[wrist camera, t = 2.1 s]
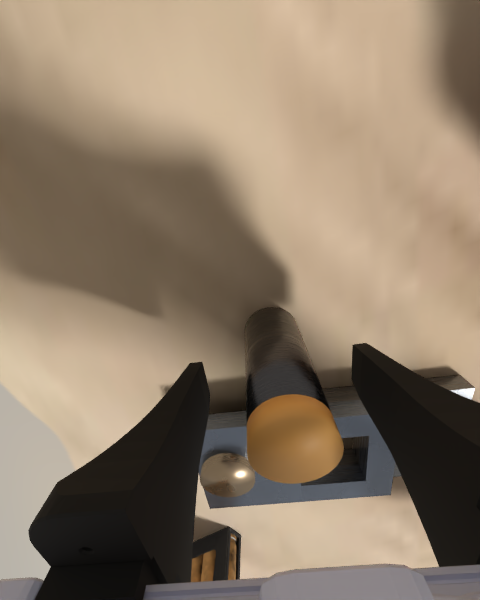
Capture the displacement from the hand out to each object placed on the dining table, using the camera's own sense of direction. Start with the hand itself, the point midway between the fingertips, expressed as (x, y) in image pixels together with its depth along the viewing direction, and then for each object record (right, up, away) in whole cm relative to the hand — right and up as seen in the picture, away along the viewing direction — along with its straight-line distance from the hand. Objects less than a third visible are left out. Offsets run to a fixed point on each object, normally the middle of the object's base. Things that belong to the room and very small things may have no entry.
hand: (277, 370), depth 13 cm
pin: (0, +1, +3) cm, 4 cm away
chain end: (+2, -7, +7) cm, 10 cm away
